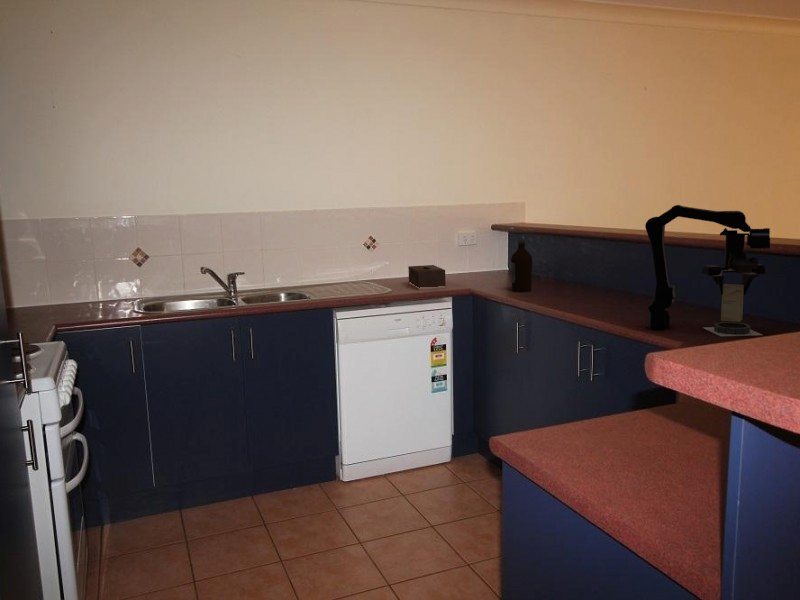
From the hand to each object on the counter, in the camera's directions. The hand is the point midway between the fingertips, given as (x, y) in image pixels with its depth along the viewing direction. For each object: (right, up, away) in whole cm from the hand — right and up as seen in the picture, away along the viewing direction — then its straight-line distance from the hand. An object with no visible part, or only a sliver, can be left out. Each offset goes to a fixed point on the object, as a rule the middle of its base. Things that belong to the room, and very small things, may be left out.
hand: (732, 294), depth 224 cm
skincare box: (0, -9, +1) cm, 9 cm away
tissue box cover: (-98, +5, +136) cm, 168 cm away
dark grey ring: (+1, -12, +3) cm, 13 cm away
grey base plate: (+1, -13, +3) cm, 13 cm away
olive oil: (-51, +3, +109) cm, 120 cm away
